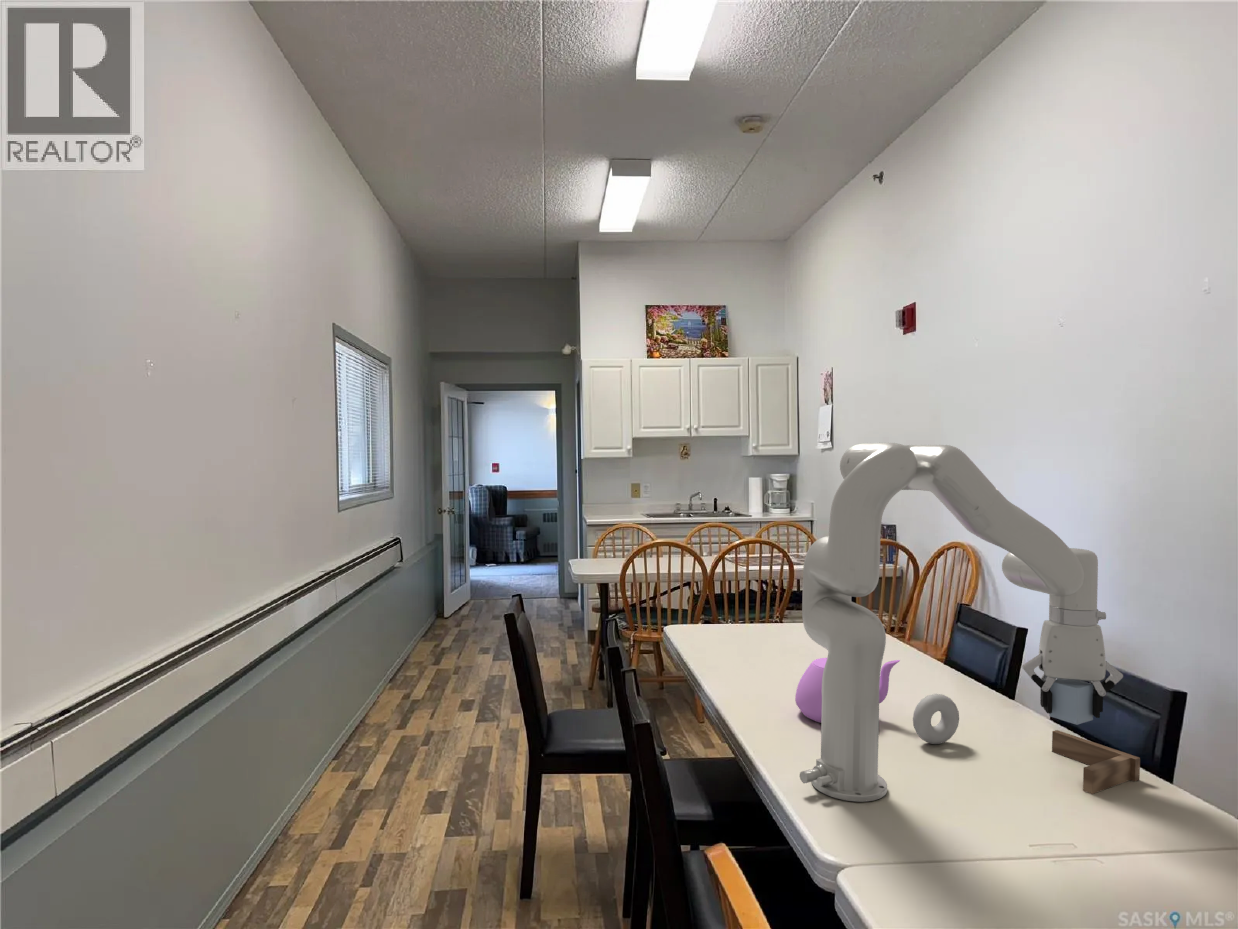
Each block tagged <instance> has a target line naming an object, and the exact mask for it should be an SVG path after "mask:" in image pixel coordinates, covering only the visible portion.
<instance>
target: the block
mask: <svg viewBox="0 0 1238 929" xmlns="http://www.w3.org/2000/svg"><path fill="white" fill-rule="evenodd" d="M1050 691H1051V692H1052V713H1051V714H1049V713H1048V715H1049V717H1051V718H1054V719H1058V720H1060V721H1064V722H1066V723H1069V724H1070V723H1071V724H1074V725H1077V726H1078V725H1080V724H1084V723H1087V722H1090V721H1093V720H1094V716H1093V684H1091V683H1090V682H1089V683H1088V682H1087V681H1078V680H1065V679H1056V680H1055V681H1054V683H1053V684H1052V686H1051V687H1050Z"/></svg>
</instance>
